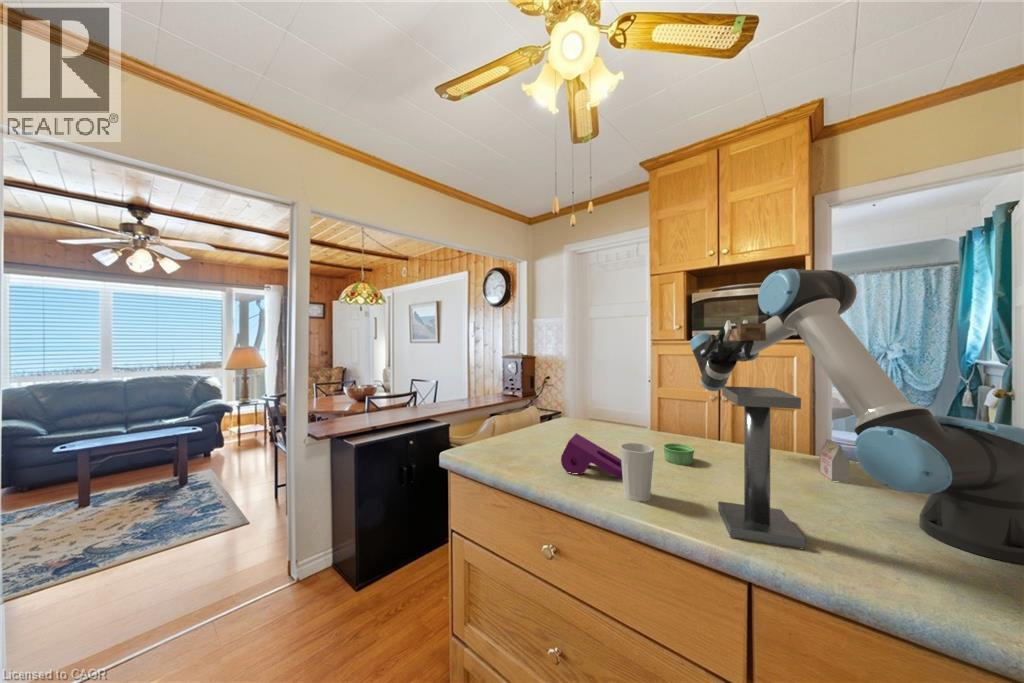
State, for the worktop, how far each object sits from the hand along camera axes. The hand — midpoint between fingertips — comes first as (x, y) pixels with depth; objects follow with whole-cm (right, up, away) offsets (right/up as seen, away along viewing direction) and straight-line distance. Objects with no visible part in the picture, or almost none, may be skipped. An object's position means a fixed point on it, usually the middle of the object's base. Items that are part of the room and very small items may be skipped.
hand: (737, 324), depth 95 cm
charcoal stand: (-9, -43, -21) cm, 49 cm away
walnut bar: (-1, -4, -2) cm, 5 cm away
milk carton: (+30, -43, +5) cm, 52 cm away
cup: (-29, -43, -6) cm, 52 cm away
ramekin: (-7, -43, +20) cm, 48 cm away
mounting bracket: (-35, -43, +11) cm, 56 cm away
